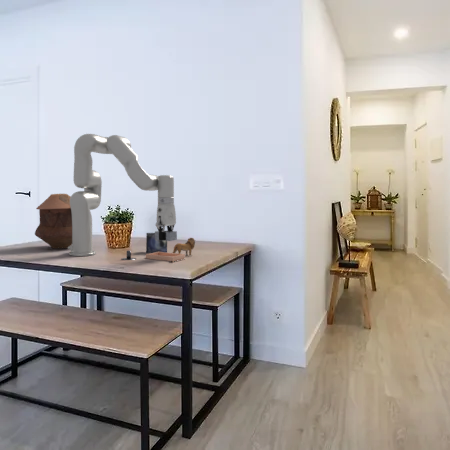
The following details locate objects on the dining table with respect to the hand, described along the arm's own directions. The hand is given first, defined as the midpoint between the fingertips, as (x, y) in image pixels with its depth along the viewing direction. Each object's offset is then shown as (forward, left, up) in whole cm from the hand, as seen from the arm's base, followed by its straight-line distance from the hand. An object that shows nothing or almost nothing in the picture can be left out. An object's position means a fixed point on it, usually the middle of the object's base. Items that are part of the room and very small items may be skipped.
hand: (165, 239), depth 193 cm
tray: (0, 0, -10) cm, 10 cm away
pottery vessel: (-70, +1, -10) cm, 71 cm away
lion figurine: (+2, +13, -10) cm, 17 cm away
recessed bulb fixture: (0, 0, 0) cm, 0 cm away
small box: (-15, +14, -10) cm, 23 cm away
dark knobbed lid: (-13, -11, -10) cm, 20 cm away
